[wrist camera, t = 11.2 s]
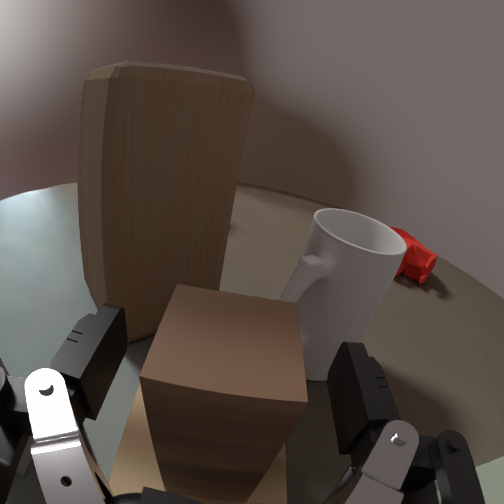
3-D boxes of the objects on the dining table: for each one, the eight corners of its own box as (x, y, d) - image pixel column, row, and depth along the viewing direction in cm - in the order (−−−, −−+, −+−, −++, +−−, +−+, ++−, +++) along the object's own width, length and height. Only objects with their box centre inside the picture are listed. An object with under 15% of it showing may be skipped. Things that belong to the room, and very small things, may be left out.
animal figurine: (364, 235, 54) (373, 210, 51) (432, 275, 44) (444, 249, 42) (328, 244, 47) (338, 214, 44) (409, 295, 37) (424, 263, 35)
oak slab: (272, 542, 11) (287, 536, 10) (113, 517, 10) (102, 508, 9) (272, 424, 19) (283, 403, 17) (144, 403, 18) (141, 379, 17)
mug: (309, 319, 29) (349, 205, 24) (360, 361, 25) (420, 244, 19) (225, 358, 23) (254, 217, 17) (281, 419, 19) (347, 279, 13)
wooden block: (167, 261, 34) (189, 75, 24) (219, 315, 28) (263, 80, 18) (83, 282, 27) (83, 69, 18) (117, 351, 21) (117, 58, 12)
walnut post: (245, 502, 11) (308, 401, 7) (165, 490, 11) (139, 376, 6) (249, 440, 15) (296, 303, 10) (178, 428, 15) (177, 283, 10)
